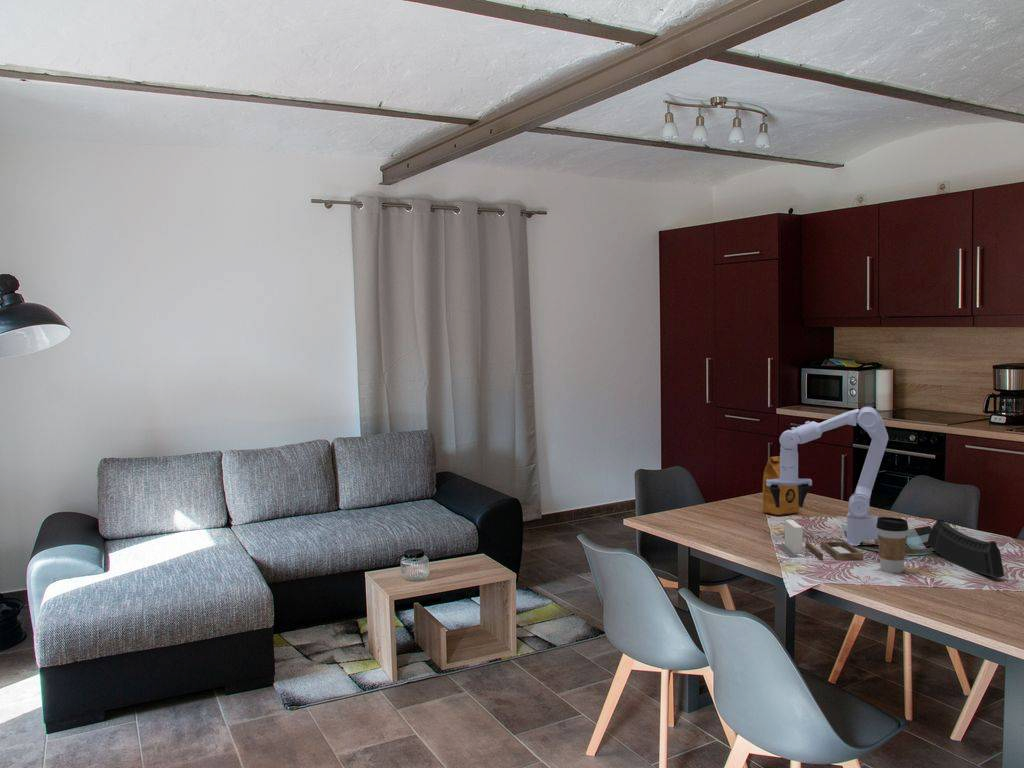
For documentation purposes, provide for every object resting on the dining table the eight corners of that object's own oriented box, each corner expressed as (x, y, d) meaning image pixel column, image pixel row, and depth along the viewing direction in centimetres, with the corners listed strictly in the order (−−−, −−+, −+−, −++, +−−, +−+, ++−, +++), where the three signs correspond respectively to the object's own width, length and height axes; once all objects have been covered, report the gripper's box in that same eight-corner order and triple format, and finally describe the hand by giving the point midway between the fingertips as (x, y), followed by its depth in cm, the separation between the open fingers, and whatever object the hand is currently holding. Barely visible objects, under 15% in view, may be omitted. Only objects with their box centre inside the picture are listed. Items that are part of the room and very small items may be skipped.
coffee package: (803, 514, 307) (803, 455, 305) (777, 517, 302) (777, 458, 300) (785, 508, 316) (785, 452, 314) (759, 512, 311) (759, 455, 309)
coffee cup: (871, 565, 241) (871, 515, 240) (900, 565, 241) (900, 515, 240) (883, 574, 233) (883, 522, 232) (913, 574, 232) (913, 522, 231)
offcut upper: (840, 549, 258) (840, 546, 258) (851, 555, 251) (851, 552, 251) (830, 550, 257) (830, 547, 257) (841, 556, 250) (841, 553, 250)
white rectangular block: (792, 545, 263) (792, 519, 263) (802, 554, 253) (802, 527, 253) (784, 545, 263) (784, 519, 263) (794, 554, 253) (794, 527, 253)
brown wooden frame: (845, 547, 261) (845, 541, 261) (863, 560, 247) (863, 553, 247) (804, 548, 261) (804, 542, 261) (820, 560, 247) (820, 554, 247)
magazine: (1011, 551, 222) (946, 497, 249) (999, 552, 221) (936, 498, 249) (997, 604, 228) (935, 546, 256) (986, 605, 227) (925, 546, 255)
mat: (797, 544, 265) (797, 543, 265) (812, 557, 251) (812, 556, 251) (775, 545, 265) (775, 544, 265) (789, 557, 251) (789, 556, 251)
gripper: (807, 464, 276) (806, 503, 277) (763, 464, 277) (763, 504, 277) (814, 467, 269) (814, 508, 270) (769, 468, 269) (769, 509, 270)
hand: (788, 506), depth 273 cm, fingers open, 7 cm apart
